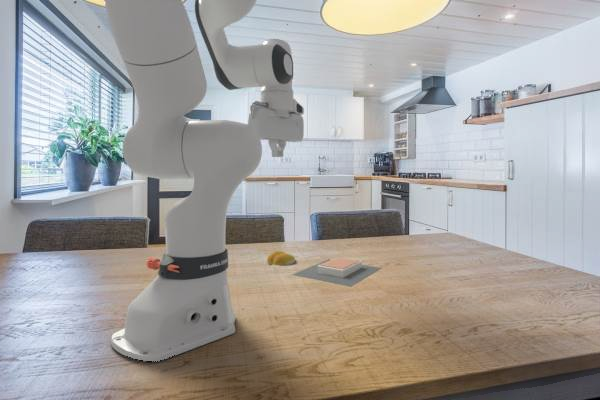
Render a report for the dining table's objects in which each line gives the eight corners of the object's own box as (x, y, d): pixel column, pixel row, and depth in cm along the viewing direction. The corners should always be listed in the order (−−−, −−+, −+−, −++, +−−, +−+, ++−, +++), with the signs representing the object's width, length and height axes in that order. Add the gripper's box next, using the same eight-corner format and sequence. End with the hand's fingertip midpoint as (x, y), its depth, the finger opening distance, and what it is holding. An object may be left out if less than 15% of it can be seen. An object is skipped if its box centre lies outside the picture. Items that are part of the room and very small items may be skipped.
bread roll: (280, 269, 108) (280, 256, 108) (263, 263, 115) (263, 251, 115) (301, 264, 114) (301, 252, 113) (283, 259, 120) (283, 247, 120)
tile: (342, 269, 97) (362, 260, 106) (317, 265, 101) (338, 256, 111) (342, 277, 97) (362, 267, 107) (317, 272, 101) (338, 263, 111)
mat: (350, 289, 90) (350, 286, 90) (292, 277, 100) (292, 274, 100) (381, 270, 106) (381, 268, 106) (328, 261, 116) (328, 259, 116)
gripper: (260, 98, 87) (261, 155, 88) (307, 109, 104) (307, 157, 105) (241, 100, 91) (242, 156, 92) (289, 111, 107) (290, 158, 109)
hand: (277, 157), depth 99 cm, fingers closed
